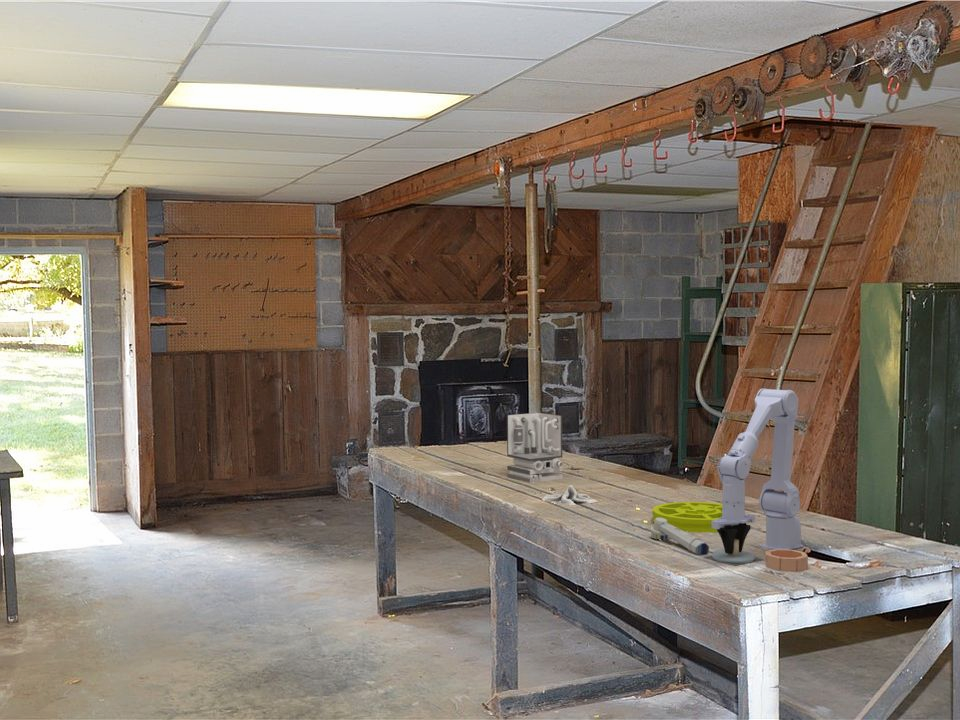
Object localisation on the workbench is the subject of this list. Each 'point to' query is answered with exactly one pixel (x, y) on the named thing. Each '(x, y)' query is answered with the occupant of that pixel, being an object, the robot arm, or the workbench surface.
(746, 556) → the lid
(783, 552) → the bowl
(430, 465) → the workbench surface
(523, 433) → the electrical transformer
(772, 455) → the robot arm
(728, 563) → the mat
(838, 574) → the workbench surface
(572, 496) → the cloth
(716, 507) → the pulley
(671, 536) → the grey flashlight
